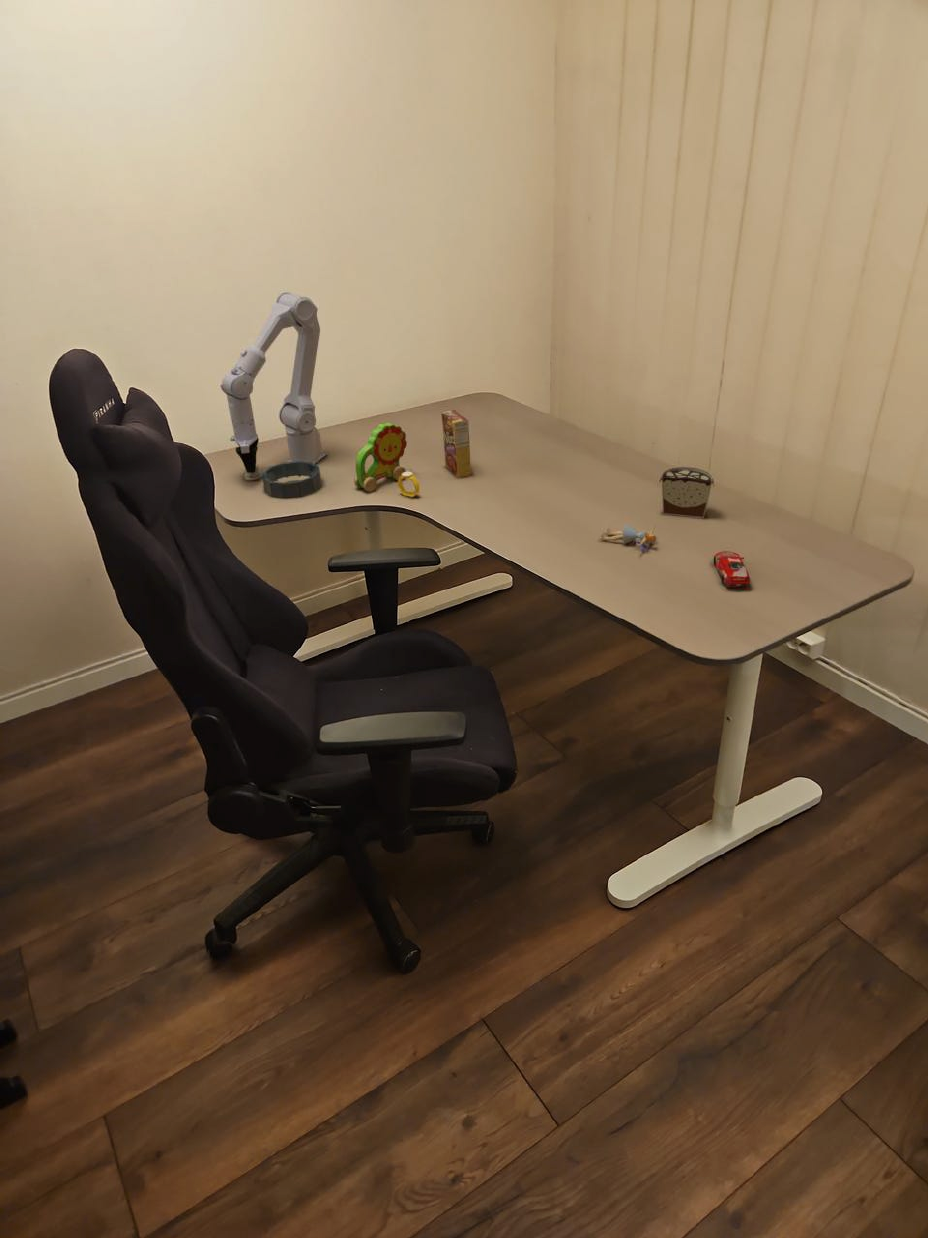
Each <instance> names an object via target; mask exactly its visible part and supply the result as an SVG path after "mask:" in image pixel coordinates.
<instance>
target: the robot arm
mask: <svg viewBox="0 0 928 1238" xmlns="http://www.w3.org/2000/svg"><path fill="white" fill-rule="evenodd" d="M288 328H294V329H295V331H296V333H297V338H296V339H297V340H296V348H295V354H294V362H293V368H292V375H291V384H290V391H289V393H288V395H286V396H285V398H284V399H283V404H282V406H281V408H280V409H279V413H278V418H279V421H280V423H281V424H283V425H284V429H285V433H286V440H287V447H288V453H289V459H288V460H286V462H295V461H302V462H311V463H313V464H315V465H316V463H318V462H319V461H320V460H322V459H323V458H324V457H326V453H323V447H322V441H321V434H320V431H319V430H318V428H317V427H316V425H317V417H316V406H315V404H314V401H313V399H312V398H311V396H312V390H313V382H314V376H315V370H316V369H315V367H316V362H317V355H318V349H319V342H320V341H319V340H320V336H321V335H320V333H321V326H320V322H319V319H318V307H317V305H316V304H315V303H314V302H313V300H312V299H311V298H310V297H307V296H301V295H298V294H294V293H292V292H288V291H285V292H282V293H280V294H279V295H278V296H277V298H276V300H275V302H274V303H272V305H271V310H270V314H269V316H268V317H267V319H266V321H265V323H264V325H263V327H262V328H261V330H260V332H259V334H258V336H257V338H256V340H255V341H254V343H253V345H251V346H246V347H245V348H244V349H242V350H241V352H240V353H239V354H240V357H239V358H238V359H237V361H236V363H235V364H234V365H233V366H232V367H231V369H230V372H228V373H226V374H225V375H224V376H223V377H222V380H221V384H220V386H219V387H220V389H221V390H222V392H223V393H224V394H225V395H226V398H227V403H228V404H227V405H228V410H229V415H230V420H231V426H232V430H233V435H231V436H230V437H229V439H230V442H235V443H236V444H237V446H236V447H235V453H236V454H237V455H238V457H239V458H240V460H241V462H242V463H243V466H244V468H245V469H246V471H247V473H251V472H255V469H256V466H257V452H258V448H259V446H258V444H259V441H260V439H259V434H258V433H257V429H256V427H257V426H256V422H255V416H254V411H253V404H252V399H251V394H252V393H253V390H254V382H255V379H256V378H257V376H258V375H259V373H260V371H261V370H262V368H263V366H264V365H265V363H266V362H267V359H266V353H267V352H268V350H269V349H270V348H271V346H272V344H273V343H274V342H275V341H276V339H277V338H278V337H279V335H280V334H281V333H282V331H283V330H284V329H288Z"/></svg>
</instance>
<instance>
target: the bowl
mask: <svg viewBox="0 0 928 1238" xmlns="http://www.w3.org/2000/svg"><path fill="white" fill-rule="evenodd" d="M261 477H262V478H261V479H262V485H263V490H264V493H266V494H267V495H268V496H270V497H272V498H279V499H293V498H294V499H295V498H302V497H305V496H308V495H311V494H314V493H316V491H318V490H319V489H320V488H322V477H321V469H320V466H319V465H317V464H316V463H315V464H313V463H311V462H302V461H295V462H287V461H285V462H281V463H277V464H274V465H272V466H270V467H267V469H265V470H264V471H263V472H262V476H261Z"/></svg>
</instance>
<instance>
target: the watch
mask: <svg viewBox="0 0 928 1238" xmlns="http://www.w3.org/2000/svg"><path fill="white" fill-rule="evenodd" d="M404 479H409V480H410V481H411V482H412V483H413V485H414V493H412V492H411V493H410V492H408V491H406V489H405V487H404V486H403V480H404ZM397 487H398V489H399V492H400V493H401V494H402V495H403V496H406V497H410V498H415V497H416V496H417V495H418V494H420V493H419V492H420V483H419V481H418V480H417V477H415V476H414V473H413V472H412V471H406V472H404V473H402V476H400V477H399V480H397Z"/></svg>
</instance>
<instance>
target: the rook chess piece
mask: <svg viewBox="0 0 928 1238" xmlns="http://www.w3.org/2000/svg"><path fill="white" fill-rule="evenodd" d="M261 473H262V472H261V470H260V469H259V468H258V467H257V465H256V469H255V472H251V473H247V471H246V469H245V470H244V473H243V475H244V479H245V480H246V481H249V482H254V481H258V480H260V479H261V477H262V474H261Z"/></svg>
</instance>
